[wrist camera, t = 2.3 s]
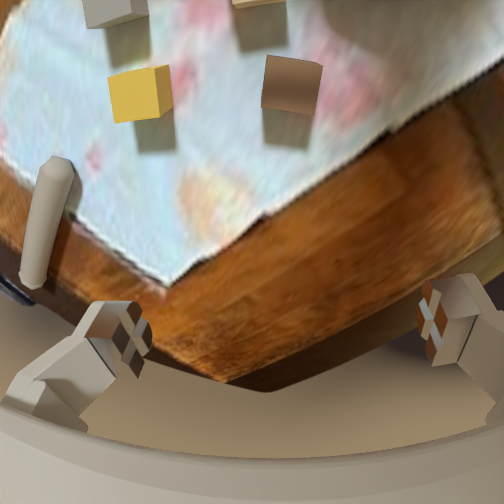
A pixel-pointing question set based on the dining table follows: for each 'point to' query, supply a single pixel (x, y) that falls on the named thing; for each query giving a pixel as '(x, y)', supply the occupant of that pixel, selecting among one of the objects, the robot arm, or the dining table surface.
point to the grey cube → (112, 12)
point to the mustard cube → (141, 93)
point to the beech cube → (253, 3)
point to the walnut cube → (291, 85)
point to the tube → (45, 219)
